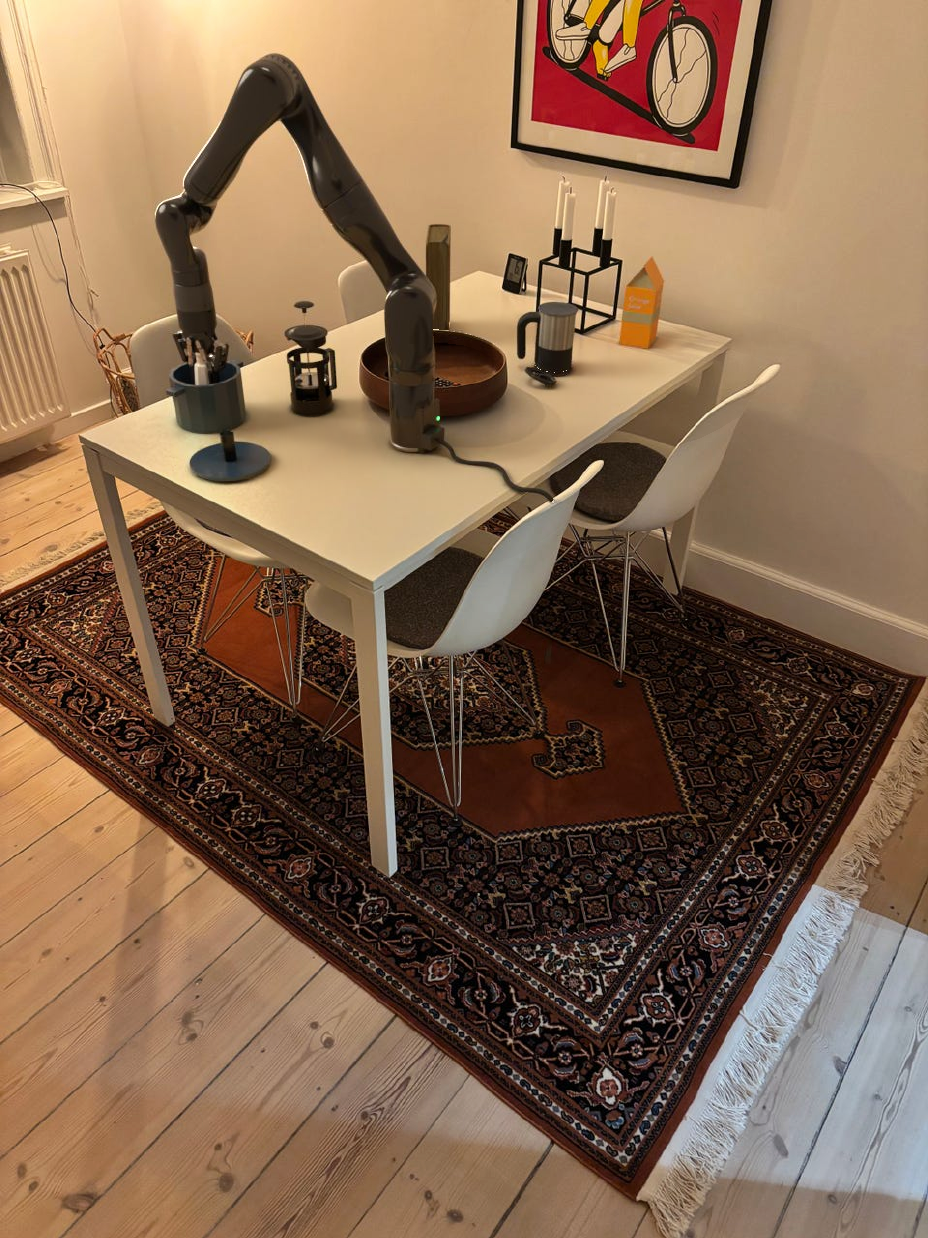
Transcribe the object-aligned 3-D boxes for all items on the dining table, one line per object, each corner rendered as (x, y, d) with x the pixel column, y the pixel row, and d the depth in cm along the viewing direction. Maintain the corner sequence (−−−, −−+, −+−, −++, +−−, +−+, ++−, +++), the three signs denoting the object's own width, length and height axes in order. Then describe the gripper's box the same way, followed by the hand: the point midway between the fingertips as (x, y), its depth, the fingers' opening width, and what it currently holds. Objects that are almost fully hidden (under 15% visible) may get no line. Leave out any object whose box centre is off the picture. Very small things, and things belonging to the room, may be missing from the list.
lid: (287, 459, 192) (284, 428, 188) (232, 491, 181) (227, 459, 177) (229, 439, 199) (225, 409, 195) (173, 469, 188) (167, 438, 184)
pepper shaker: (196, 397, 206) (188, 347, 199) (222, 395, 207) (214, 345, 200) (196, 408, 202) (188, 357, 195) (223, 405, 203) (215, 355, 196)
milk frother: (565, 360, 236) (569, 299, 227) (588, 385, 224) (595, 322, 215) (509, 365, 233) (512, 304, 224) (530, 391, 221) (534, 327, 212)
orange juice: (618, 343, 245) (627, 263, 233) (627, 332, 252) (637, 253, 240) (648, 348, 243) (659, 267, 231) (656, 337, 249) (668, 257, 237)
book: (429, 322, 255) (428, 223, 240) (449, 323, 255) (450, 224, 240) (426, 345, 242) (425, 242, 227) (448, 346, 242) (449, 243, 227)
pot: (268, 410, 210) (263, 364, 204) (203, 444, 197) (195, 396, 191) (220, 394, 216) (213, 350, 210) (153, 426, 203) (144, 379, 197)
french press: (304, 421, 206) (294, 314, 192) (279, 407, 212) (268, 302, 198) (348, 406, 213) (342, 302, 199) (323, 392, 218) (315, 290, 204)
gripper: (155, 301, 192) (169, 383, 202) (207, 316, 186) (219, 399, 196) (183, 291, 197) (195, 372, 208) (234, 305, 191) (244, 387, 202)
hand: (207, 385), depth 202 cm, fingers closed on pepper shaker, 4 cm apart
